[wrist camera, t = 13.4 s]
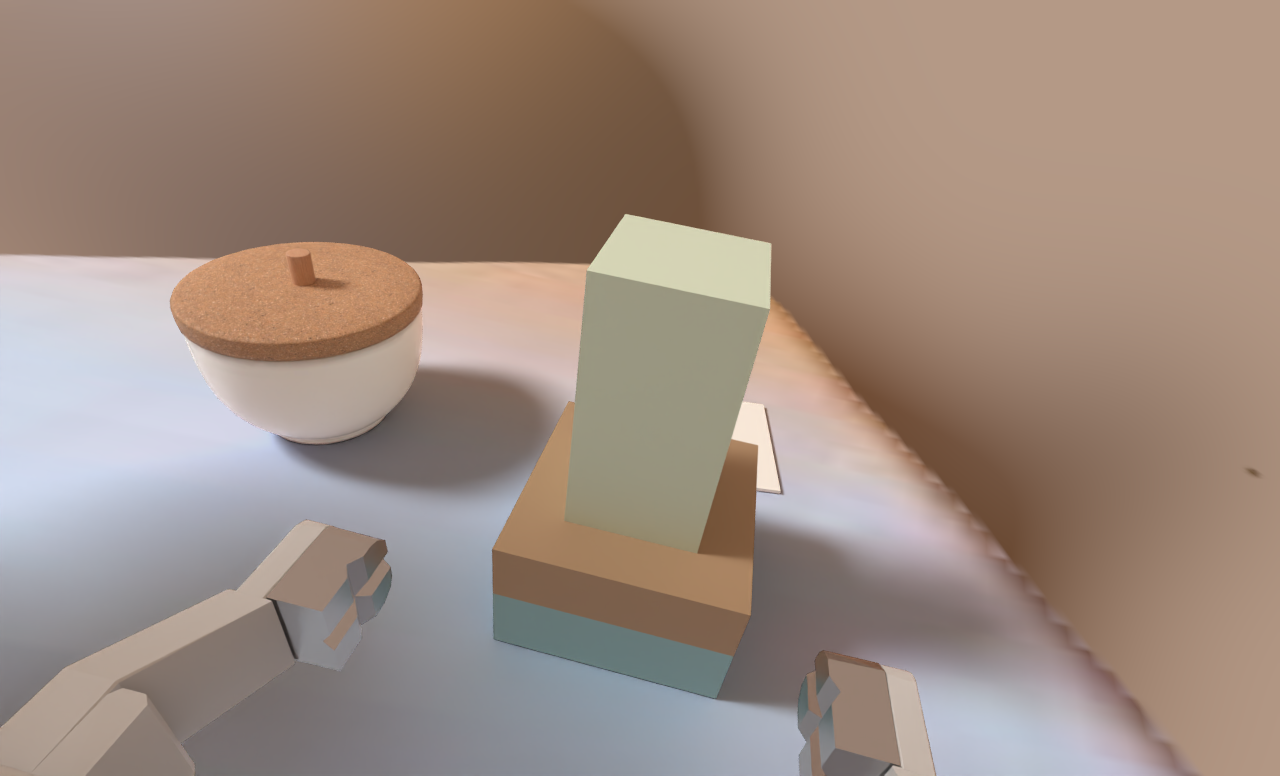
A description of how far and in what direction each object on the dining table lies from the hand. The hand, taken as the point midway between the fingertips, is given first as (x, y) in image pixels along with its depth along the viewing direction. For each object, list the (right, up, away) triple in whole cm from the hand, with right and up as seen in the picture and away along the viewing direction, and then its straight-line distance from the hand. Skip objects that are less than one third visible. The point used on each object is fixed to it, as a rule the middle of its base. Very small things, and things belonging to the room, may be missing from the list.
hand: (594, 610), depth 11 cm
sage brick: (+1, 0, +13) cm, 13 cm away
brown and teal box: (0, -4, +16) cm, 16 cm away
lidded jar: (-17, +3, +22) cm, 28 cm away
